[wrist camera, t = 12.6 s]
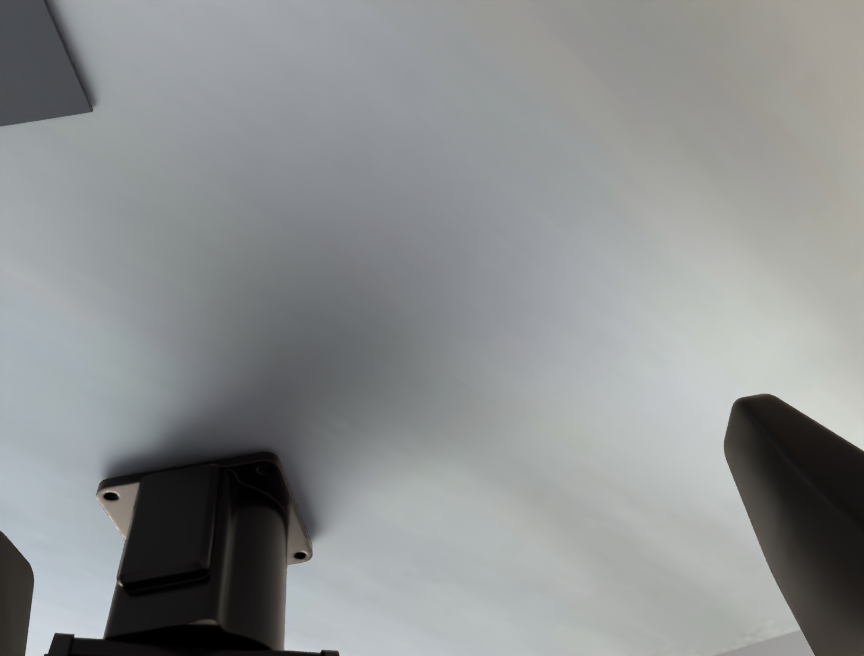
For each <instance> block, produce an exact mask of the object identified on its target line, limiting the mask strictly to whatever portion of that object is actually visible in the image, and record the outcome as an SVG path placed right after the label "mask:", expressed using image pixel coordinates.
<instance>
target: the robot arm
mask: <svg viewBox="0 0 864 656" xmlns="http://www.w3.org/2000/svg"><path fill="white" fill-rule="evenodd" d="M724 452H725V457H726V460H727V463H728V465H729V468H730V470H731V473H732V476H733V478H734V481H735V483H736V486H737V488H738V491H739V493H740V496H741V498H742V501H743V503H744V506H745V508H746V511H747V513H748V516H749V518H750V521H751V523H752V526H753V529H754V531H755V534H756V536H757V539H758V541H759V544H760V546H761V549H762V551H763V554H764V556H765V558H766V561H767V563H768V565H769V568H770V570H771V572H772V574H773V576H774V578H775V580H776V582H777V584H778V586H779V588H780V590H781V592H782V594H783V596H784V598H785V600H786V602H787V604H788V605H789V607H790V609H791V611H792V613H793V615H794V617H795V619H796V621H797V622H798V624H799V626H800V628H801V630H802V632H803V634H804V636H805V638H806V639H807V641H808V643H809V645H810V647H811V649H812V651H813V653H814V655H815V656H864V451H863V450H861V449H859V448H858V447H856V446H855V445H853V444H851V443H850V442H848V441H847V440H845V439H843V438H842V437H840V436H838V435H837V434H835V433H834V432H832V431H830V430H829V429H827V428H826V427H824V426H822V425H821V424H819V423H818V422H816V421H814V420H813V419H811V418H810V417H808V416H806V415H805V414H803V413H802V412H800V411H798V410H797V409H795V408H793V407H792V406H790V405H789V404H787V403H785V402H784V401H782V400H781V399H779V398H777V397H775V396H773V395H770V394H759V395H753V396H747V397H742V398H739V399H737V400H736V401H735V402H734V403H733V406H732V410H731V414H730V418H729V422H728V426H727V431H726V435H725V439H724ZM263 465H268V466H263ZM96 497H97V500H98V501H99V503H100V504H101V506H102V507H103V508H104V510H105V511H106V513H107V514H108V516H109V517H110V519H111V520H112V522H113V523H114V525H115V526H116V528H117V529H118V531H119V532H120V533H121V535H122V536H123V538H124V539H125V544H124V548H123V553H122V557H121V561H120V565H119V569H118V573H117V583H116V587H115V591H114V595H113V599H112V604H111V608H110V612H109V616H108V620H107V624H106V629H105V633H104V637H103V639H91V638H75V637H74V634H63V633H55V634H54V637H53V640H52V643H51V646H50V649H49V652H48V654H45V655H44V656H339V652H338V651H332V650H322V651H321V652H320V653H317V652H301V651H285V650H284V635H285V605H286V575H287V565H290V564H296V563H301V562H305V561H308V560H309V559H311V557H312V543H311V540H310V537H309V535H308V532H307V530H306V527H305V524H304V522H303V519H302V517H301V514H300V511H299V509H298V506H297V504H296V501H295V498H294V496H293V493H292V491H291V488H290V485H289V483H288V480H287V478H286V475H285V472H284V470H283V467H282V465H281V462H280V459H279V458H278V456H277V455H275V454H273V453H270V452H259V453H254V454H248V455H242V456H236V457H231V458H225V459H219V460H213V461H208V462H202V463H196V464H190V465H185V466H179V467H173V468H168V469H162V470H156V471H150V472H145V473H139V474H133V475H127V476H122V477H116V478H110V479H106V480H103V481H102V482H101V483H100V484H99V487H98V490H97V494H96ZM33 587H34V575H33V571H32V568H31V566H30V564H29V562H28V561H27V560H26V559H25V558H24V556H23V555H22V554H21V553H20V552H19V551H18V549H17V548H16V547H15V546H14V545H13V544H12V542H11V541H10V540H9V539H8V538H7V537H6V536H5V534H4V533H2V532H1V531H0V656H25V651H26V643H27V635H28V627H29V619H30V611H31V603H32V595H33Z"/></svg>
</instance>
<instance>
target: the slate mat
mask: <svg viewBox="0 0 864 656" xmlns="http://www.w3.org/2000/svg"><path fill="white" fill-rule="evenodd" d="M92 111H93V108H92V106H91V104H90V101H89V99H88V97H87V94H86V92H85V90H84V87H83V85H82V83H81V81H80V78H79V76H78V74H77V71H76V69H75V67H74V64H73V62H72V60H71V57H70V55H69V53H68V51H67V48H66V46H65V44H64V41H63V39H62V37H61V34H60V32H59V30H58V27H57V25H56V23H55V21H54V18H53V16H52V14H51V11H50V9H49V7H48V4H47V2H46V0H0V126H6V125H12V124H19V123H25V122H31V121H38V120H44V119H50V118H57V117H63V116H69V115H76V114H82V113H89V112H92Z"/></svg>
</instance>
